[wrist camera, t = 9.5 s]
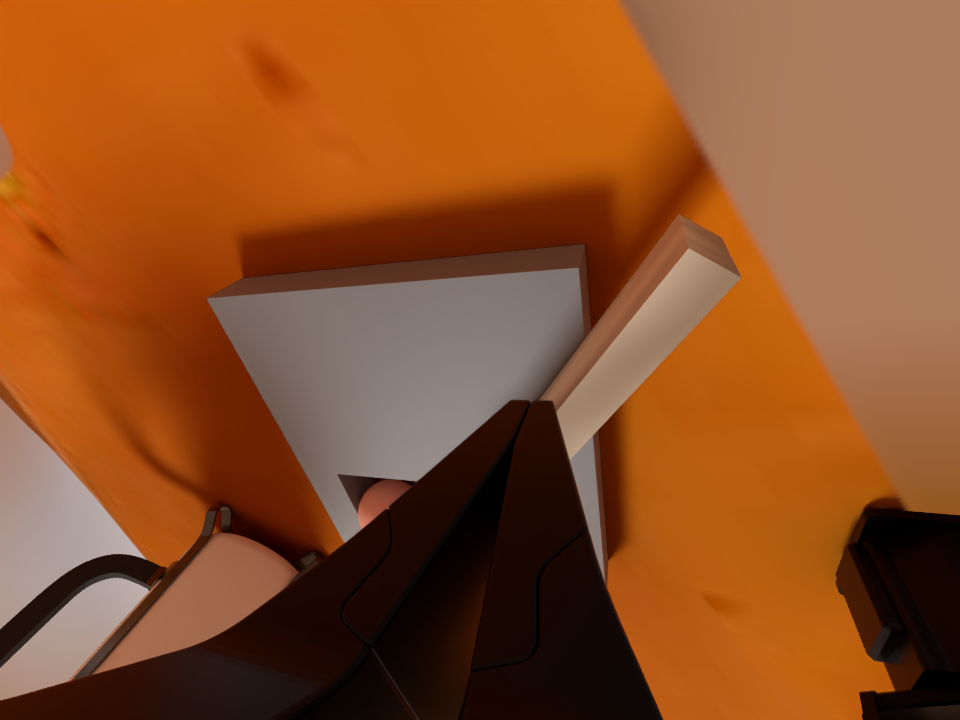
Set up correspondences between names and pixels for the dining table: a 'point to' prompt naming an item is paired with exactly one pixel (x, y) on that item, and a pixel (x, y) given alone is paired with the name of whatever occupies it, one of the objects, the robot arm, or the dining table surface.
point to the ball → (379, 499)
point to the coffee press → (168, 596)
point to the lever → (641, 327)
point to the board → (410, 362)
